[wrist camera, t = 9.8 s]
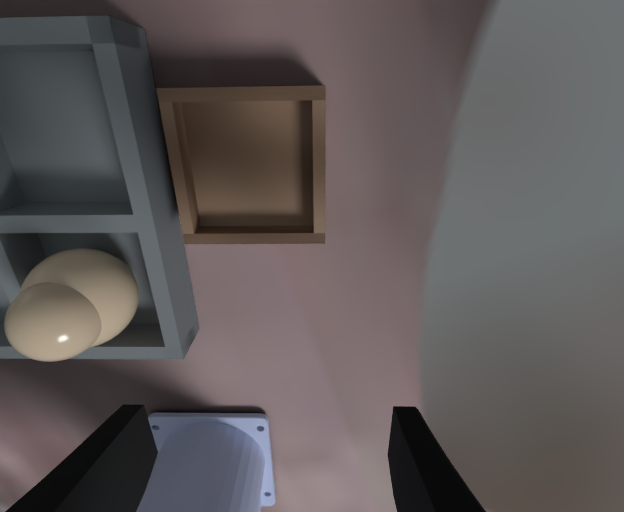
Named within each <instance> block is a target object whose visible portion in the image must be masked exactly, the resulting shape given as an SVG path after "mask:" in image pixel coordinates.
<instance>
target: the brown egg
mask: <svg viewBox="0 0 624 512" xmlns="http://www.w3.org/2000/svg"><path fill="white" fill-rule="evenodd" d="M138 302H139V289H138V284H137V281H136V279H135V276H134V274H133V272H132V270H131V268H130V266H129V265H128V264H127V263H126V262H125V261H124V260H122V259H121V258H119V257H117V256H115V255H111V254H109V253H107V252H104V251H100V250H96V249H87V248H78V249H70V250H65V251H62V252H59V253H56V254H53V255H51V256H49V257H48V258H46V259H44V260H43V261H41V262H40V263H39V264H37V265H36V266H35V267H34V268H33V269H32V270H31V271H30V273H29V274H28V275H27V277H26V278H25V280H24V282H23V284H22V287H21V290H20V294H19V295H18V296H17V297H16V298H15V299H14V300H13V301H12V303H11V304H10V306H9V308H8V310H7V312H6V315H5V320H4V329H5V334H6V337H7V339H8V341H9V343H10V344H11V345H12V347H13V348H14V349H15V350H16V351H18V352H19V353H20V354H22V355H24V356H26V357H28V358H31V359H34V360H38V361H46V362H53V361H61V360H66V359H69V358H72V357H74V356H76V355H78V354H80V353H82V352H84V351H85V350H87V349H88V348H90V347H94V346H97V345H100V344H103V343H105V342H107V341H109V340H111V339H112V338H114V337H115V336H117V335H118V334H119V333H121V332H122V331H123V330H124V329H125V328H126V327H127V325H128V324H129V323H130V321H131V320H132V318H133V316H134V315H135V312H136V310H137V307H138Z"/></svg>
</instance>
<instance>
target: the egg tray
mask: <svg viewBox="0 0 624 512" xmlns="http://www.w3.org/2000/svg"><path fill="white" fill-rule="evenodd" d="M78 248H87V249H96V250H100V251H104V252H107V253H109V254H111V255H115V256H117V257H119V258H121V259H122V260H124V261H125V262H126V263H127V264H128V265H129V266H130V268H131V270H132V272H133V274H134V276H135V279H136V281H137V284H138V289H139V302H138V307H137V310H136V312H135V315H134V316H133V318H132V320H131V321H130V323H129V324H128V325H127V327H126V328H125V329H124V330H123V331H122V332H121V333H119V334H118V335H117V336H115V337H114V338H112V339H111V340H109V341H107V342H105V343H103V344H100V345H97V346H94V347H90V348H88V349H87V350H85V351H84V352H82V353H80V354H78V355H76V356H74V357H72V358H69V359H184V357H185V356H186V354H187V352H188V350H189V348H190V346H191V344H192V342H193V340H194V338H195V336H196V334H197V332H198V330H199V324H198V318H197V313H196V307H195V302H194V296H193V291H192V285H191V280H190V274H189V269H188V264H187V258H186V253H185V247H184V242H183V236H182V231H181V225H180V220H179V215H178V209H177V204H176V198H175V193H174V187H173V182H172V176H171V171H170V165H169V160H168V155H167V149H166V144H165V138H164V133H163V127H162V122H161V116H160V111H159V105H158V100H157V95H156V89H155V84H154V78H153V73H152V67H151V62H150V56H149V51H148V45H147V40H146V35H145V29H143V28H140V27H138V26H135V25H132V24H130V23H127V22H125V21H122V20H119V19H117V18H114V17H112V16H109V15H105V16H57V17H9V18H0V359H31V358H28V357H26V356H24V355H22V354H20V353H19V352H18V351H16V350H15V349H14V348H13V347H12V345H11V344H10V343H9V341H8V339H7V337H6V334H5V329H4V320H5V315H6V312H7V310H8V308H9V306H10V304H11V303H12V301H13V300H14V299H15V298H16V297H17V296H18V295H19V294H20V290H21V287H22V284H23V282H24V280H25V278H26V277H27V275H28V274H29V273H30V271H31V270H32V269H33V268H34V267H35V266H36V265H37V264H39V263H40V262H41V261H43V260H44V259H46V258H48V257H49V256H51V255H53V254H56V253H59V252H62V251H65V250H70V249H78Z"/></svg>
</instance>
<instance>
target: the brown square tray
mask: <svg viewBox="0 0 624 512" xmlns="http://www.w3.org/2000/svg"><path fill="white" fill-rule="evenodd" d="M156 89H157V95H158V100H159V106H160V111H161V117H162V122H163V128H164V133H165V139H166V144H167V150H168V155H169V161H170V166H171V172H172V177H173V183H174V188H175V194H176V199H177V205H178V210H179V216H180V221H181V227H182V232H183V238H184V243H185V244H310V243H325V85H322V86H258V87H194V88H156Z"/></svg>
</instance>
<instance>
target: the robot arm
mask: <svg viewBox="0 0 624 512" xmlns="http://www.w3.org/2000/svg"><path fill="white" fill-rule="evenodd" d="M156 457H157V458H156ZM155 460H156V461H155ZM388 460H389V467H390V475H391V482H392V488H393V495H394V499H395V504H396V508H397V512H486V511H485V510H484V509H483V507H482V506H481V504H480V503H479V502H478V500H477V499H476V498H475V496H474V495H473V494H472V492H471V491H470V490H469V488H468V487H467V485H466V484H465V482H464V481H463V479H462V478H461V476H460V475H459V473H458V472H457V471H456V469H455V468H454V466H453V465H452V464H451V462H450V460H449V459H448V458H447V456H446V454H445V453H444V451H443V450H442V448H441V447H440V445H439V443H438V442H437V440H436V439H435V437H434V435H433V434H432V432H431V430H430V429H429V427H428V426H427V424H426V422H425V420H424V419H423V417H422V415H421V413H420V412H419V410H418V409H417V408H416V407H395V406H393V415H392V423H391V432H390V440H389V449H388ZM275 499H276V496H275V485H274V474H273V464H272V453H271V443H270V432H269V421H268V417H267V416H266V415H265V414H261V413H151V414H150V415H149V417H147V414H146V410H145V407H144V405H122V406H121V407H120V408H119V409H118V410H117V411H116V412H115V413H114V414H113V415H111V416H110V417H109V418H108V419H107V420H106V421H105V422H104V423H103V424H102V425H101V426H100V427H99V428H98V429H97V430H95V431H94V432H93V433H92V434H91V435H90V436H89V437H88V438H87V439H86V440H85V441H84V442H83V443H82V444H81V445H80V446H78V447H77V448H76V449H75V450H74V451H73V452H72V453H71V454H70V455H69V456H68V457H67V458H65V459H64V460H63V461H62V462H61V463H60V464H59V465H58V466H57V467H56V468H55V469H53V470H52V471H51V472H50V473H49V474H48V475H47V476H46V477H45V478H44V479H42V480H41V481H40V482H39V483H38V484H37V485H36V486H34V487H33V488H32V489H31V490H30V491H29V492H28V493H26V494H25V495H24V496H23V497H22V498H21V499H19V500H18V501H17V502H16V503H15V504H14V505H13V506H11V507H10V508H9V509H8V510H7V511H6V512H261V507H262V506H272V505H274V504H275Z"/></svg>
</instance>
